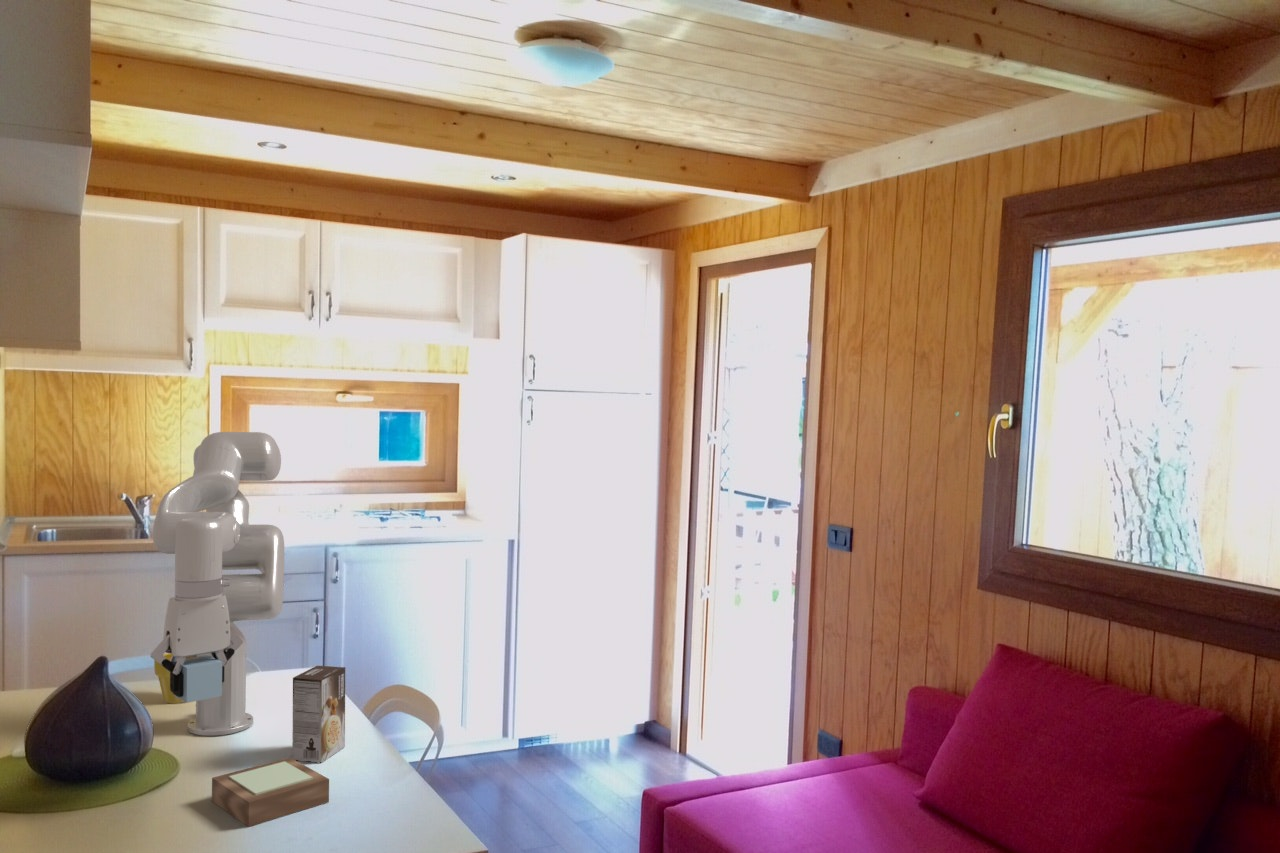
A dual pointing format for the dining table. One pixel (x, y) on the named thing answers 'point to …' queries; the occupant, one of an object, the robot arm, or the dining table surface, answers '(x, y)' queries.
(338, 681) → the coffee box
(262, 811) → the plinth
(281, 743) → the dining table surface
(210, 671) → the cube
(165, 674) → the plant pot
